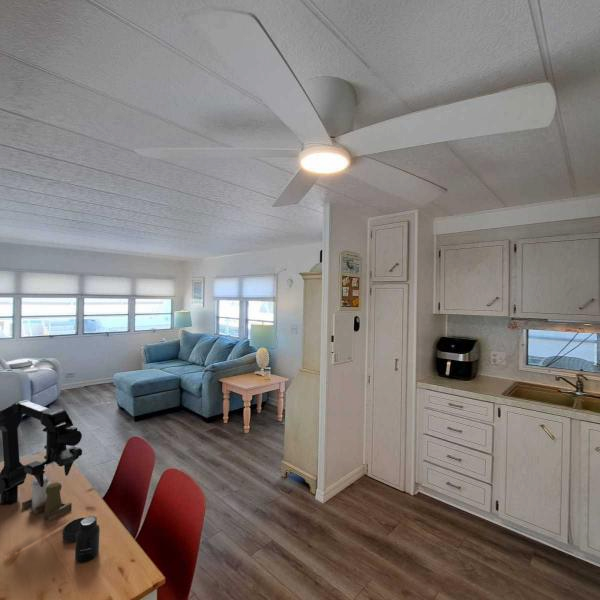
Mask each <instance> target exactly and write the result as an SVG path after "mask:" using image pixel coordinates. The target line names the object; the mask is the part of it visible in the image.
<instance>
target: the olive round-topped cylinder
mask: <svg viewBox="0 0 600 600" xmlns="http://www.w3.org/2000/svg"><path fill="white" fill-rule="evenodd" d="M61 490H62V484H61V482H58V481H57V482H51V483H49V485H48V486H47V487H46V494H47V499H46V505H45V511H44V516H48V514H49V513H51V512H53V511H55V510H57V509H58V508H60V507H62V502H63V501H62V498H61V497H62V496H61ZM61 501H62V502H61Z"/></svg>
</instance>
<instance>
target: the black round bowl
mask: <svg viewBox="0 0 600 600" xmlns="http://www.w3.org/2000/svg"><path fill="white" fill-rule="evenodd" d="M84 518H85V517H79V518H76V519H74V520H72V521H70V522H68V523H67V524H66V525H64V527H63V530H62V540H63V541H64V542H66V543H76V533H77V531H78V530H79V529H80V522H81V521H82V520H83V519H84Z"/></svg>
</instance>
